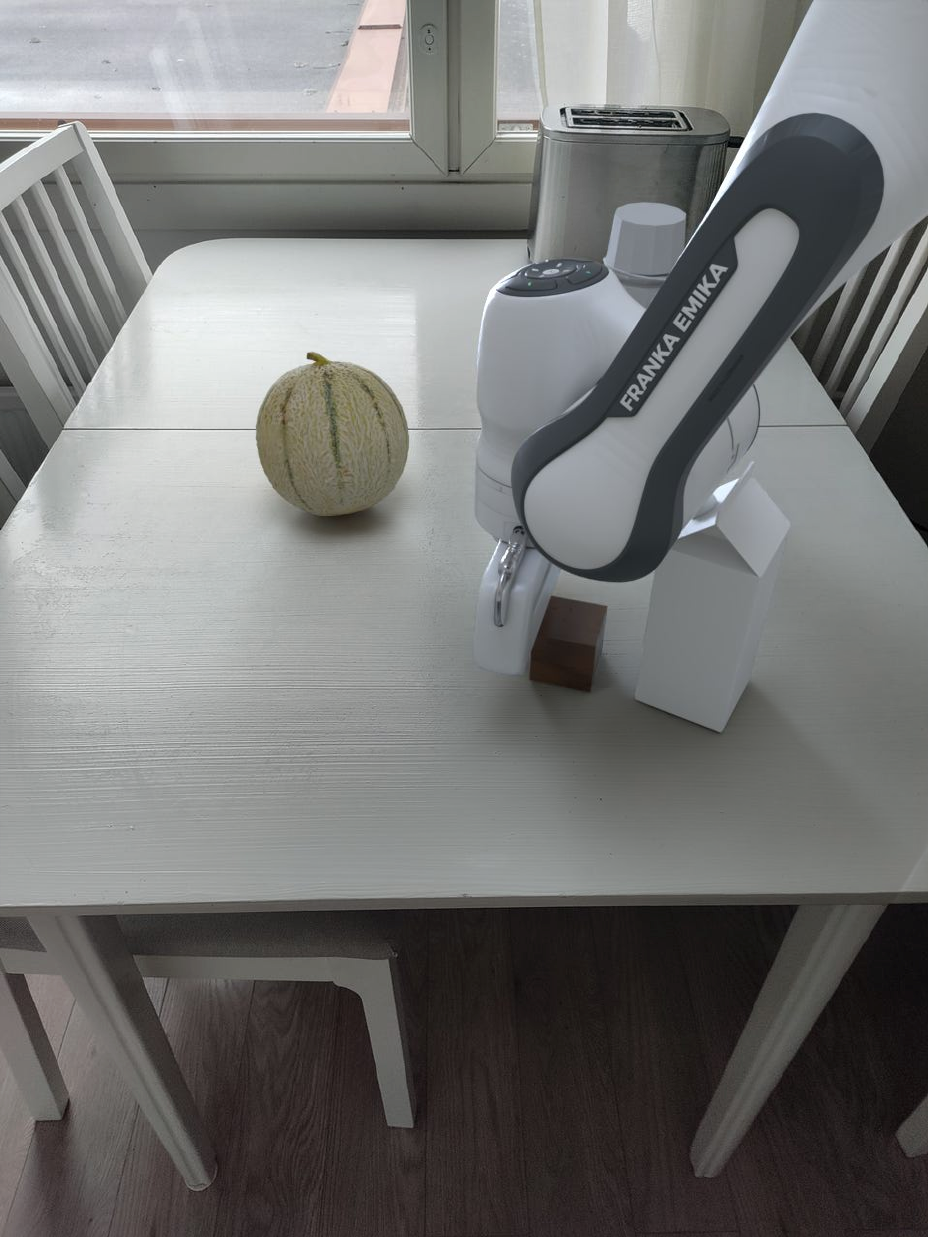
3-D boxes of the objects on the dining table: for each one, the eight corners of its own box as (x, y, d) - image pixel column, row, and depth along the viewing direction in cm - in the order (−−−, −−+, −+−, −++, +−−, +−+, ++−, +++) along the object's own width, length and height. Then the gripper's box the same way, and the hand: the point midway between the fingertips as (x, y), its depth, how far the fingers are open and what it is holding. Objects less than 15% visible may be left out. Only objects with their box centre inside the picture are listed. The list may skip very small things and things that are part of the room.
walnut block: (601, 652, 79) (607, 605, 76) (590, 693, 75) (596, 646, 72) (542, 640, 80) (546, 594, 77) (528, 680, 76) (531, 633, 73)
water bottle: (615, 480, 99) (644, 233, 83) (571, 446, 104) (590, 208, 88) (683, 456, 103) (724, 215, 86) (637, 425, 108) (668, 192, 92)
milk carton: (750, 678, 77) (804, 474, 64) (721, 735, 72) (773, 527, 60) (666, 648, 79) (703, 447, 67) (633, 701, 75) (665, 495, 62)
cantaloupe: (336, 565, 88) (320, 419, 78) (235, 507, 95) (208, 367, 86) (443, 498, 97) (441, 359, 87) (343, 449, 104) (330, 315, 94)
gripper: (547, 589, 60) (534, 738, 69) (605, 430, 75) (588, 570, 84) (450, 570, 61) (451, 719, 70) (526, 418, 76) (518, 558, 85)
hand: (526, 637), depth 77 cm, fingers closed, pressing on walnut block
